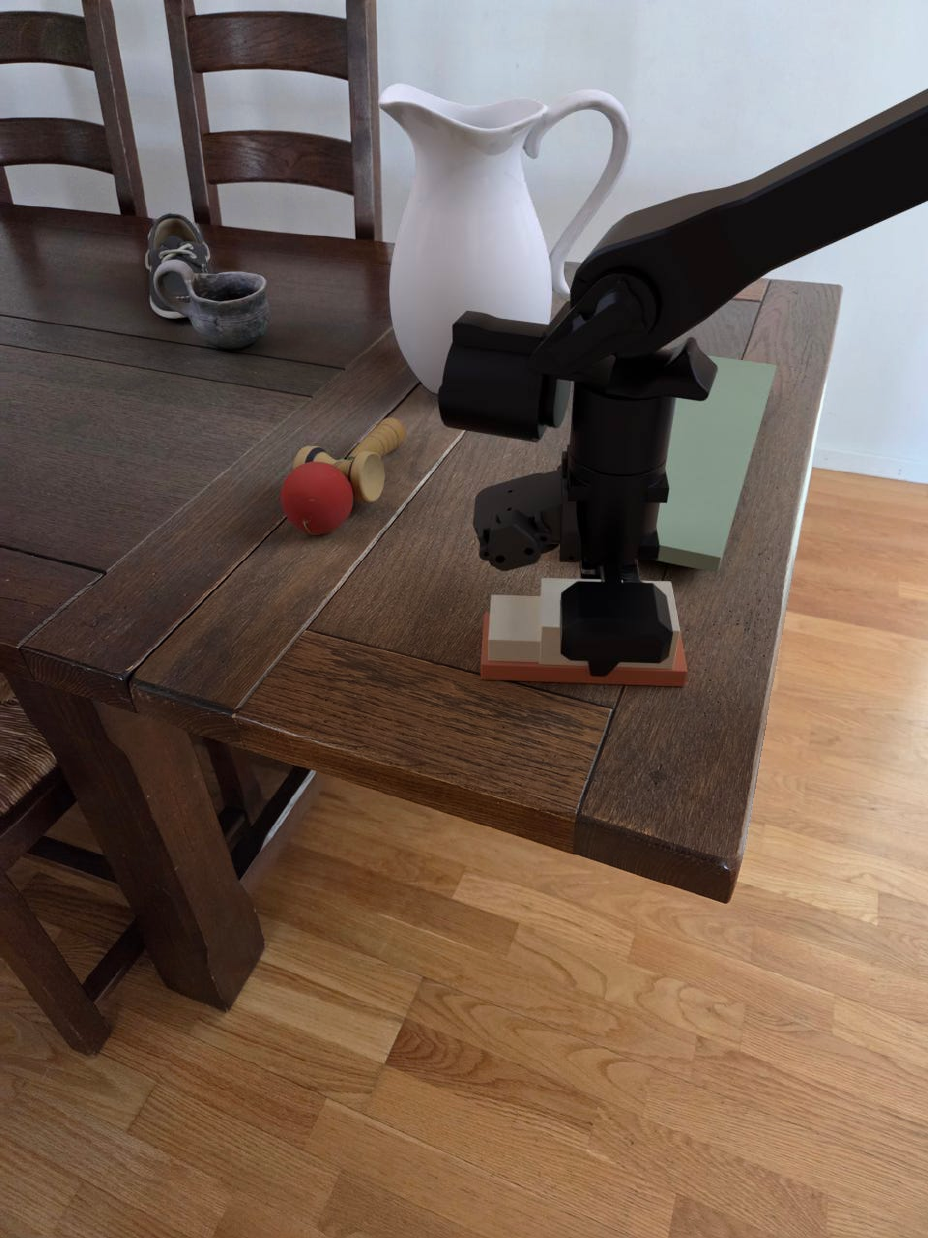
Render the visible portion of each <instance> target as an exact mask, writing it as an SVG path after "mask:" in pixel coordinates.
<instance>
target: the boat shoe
mask: <svg viewBox="0 0 928 1238" xmlns="http://www.w3.org/2000/svg"><path fill="white" fill-rule="evenodd" d="M147 240H148V241H147V242H148V244H147V246H148V247H147V251H146V253H145V257H144V262H145V263H144V265H145V268H146V269H147V270H149V271H148V283H149V303H150V306H151V309H152V310H153V311H154V312H155V313H156V314H157V315H159V316H160V317H163V318H167V319H182V318H187V317H186V316H183V315H182V314H180V313H178V312H176V311H174V310H173V309H171V308H170V307H168V306H167V305H166V304H165V303H164V302H163V301H162V300H161V299H160V297H159V296H158V294H157V292H156V290H155V287H154V275H155V272H156V270H157V268H158V267H159V266H160V265H161V264H162V263H163V262H165V261H168V260H180V261H183V262H185V263H186V264H187V265H188V266H189V267H190V268H191V269H192V271H193V272H194V273H196V274H212V271H211V268H210V263H209V260H210V258H211V253H210V249H209V247H208V245H207V244H206V243H205V242H204V241H203V238H202V237H201V234H200V230H199V228H198V227H197V225H196V224H195V223H194V222H193V221H190V219H189V218H187V217H186V216H184V215H182V214H180V213H172V212H169V213H165V214H163V215H161V216H160V217H159V218H157V219H156V220H155V221H154V223H153V226H152V227H151V228H150V230H149V233H148V235H147ZM163 282H164V285H165V287H166V288H167V290H168V291H169V292H170V293H171V294H172V296H174V297H175V298H176V299H177V300H179V301H181V302H183V303H190V302H191V300H190V297H189V293H188V290H187V287H186V285H185V282H184V280H183V278H182V277H181V275H179V274H177V273H173V272H170V273H167V274H165V275H164V277H163Z"/></svg>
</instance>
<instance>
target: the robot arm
mask: <svg viewBox="0 0 928 1238" xmlns="http://www.w3.org/2000/svg"><path fill="white" fill-rule="evenodd" d="M926 202H928V88H926V89H924V90H922V91H920V92H918V93H915V94H914V95H912V96H910V97H908V98H906V99H904V100H902V101H901V102H899V103H897V104H894V105H893V106H891V107H888V108H887V109H885V110H883V111H881V112H879V113H876V114H874V115H873V116H871V117H869V118H867V119H865V120H864V121H862V122H859V123H858V124H856V125H854V126H852V127H850V128H848V129H845V130H844V131H842V132H840V133H838V134H836V135H834V136H833V137H831V138H828V139H826V140H825V141H823V142H821V143H819V144H817V145H815V146H813V147H811V148H809V149H807V150H805V151H804V152H801V153H799V154H797V155H796V156H793V157H791V158H790V159H787V160H786V161H784V162H781V163H780V164H778V165H776V166H774V167H772V168H771V169H768V170H767V171H764V172H763V173H761V174H759V175H757V176H755V177H753V178H750V179H747V180H743V181H741V182H738V183H737V182H736V183H734V184H731V185H728V186H725V187H719V188H718V187H717V188H713V189H708V190H702V191H697V192H692V193H688V194H685V195H684V194H683V195H682V196H678V197H676V198H675V197H674V198H672V199H669V200H666V201H663V202H660V203H657V204H653V205H650V206H647V207H644V208H641V209H638V210H635V211H632V212H630V213H628V214H626V215H624V216H622V218H621V219H619V220H618V221H616V222H615V223H614V224H612V225H611V227H610V228H609V229H608V230H607V231H606V233H605V234H604V235H603V236H602V238H601V239H600V240H599V241H598V242H597V244H595V246H594V247H593V248H592V250H591V251H590V253H588V255H587V256H586V258H585V259H584V260H583V261H582V262H581V264H580V265H579V266H578V267H577V268H576V271H575V273H574V277H573V279H572V283H571V286H570V288H569V289H570V295H569V300H567V301H565V302H564V303H563V305H562V306H561V308H560V309H559V310H558V311H557V313H556V314H555V315H554V316H553V318H552V319H551V320H550V322H549V324H540V323H532V322H525V321H517V320H509V319H502V318H497V317H494V316H492V315H489V314H487V313H482V312H475V311H466V312H465V313H464V314H463V315H462V316H461V317H460V318H459V319H458V320H457V321H456V322H455V323H454V324H453V325H452V341H453V342H452V344H451V347H450V349H449V352H448V355H447V359H446V362H445V366H444V372H443V378H442V385H441V386H440V387H439V389H438V394H437V403H438V404H437V405H438V412H439V416H440V420H441V422H442V424H443V425H444V426H445V427H446V428H449V429H454V430H460V431H464V432H465V431H466V432H472V433H477V434H478V433H479V434H482V435H483V434H484V435H490V436H495V437H501V438H506V439H514V440H518V441H525V442H530V443H539V442H540V441H541V440H542V438H543V436H545V433H546V431H547V428H552V429H559V428H560V427H561V425H562V423H563V421H564V420H565V416H566V413H567V410H568V407H569V401H570V397H571V388H572V383H573V392H572V404H571V405H572V406H571V421H570V434H569V444H566V450H562V451H561V460H560V464H559V465H558V466H556V470H551V471H546V472H535V473H529V474H527V475H524V476H520V477H516V478H513V479H510V480H506V481H503V482H499V483H496V484H492V485H490V486H486V487H485V488H483V489H481V490H480V491H479V492H478V493H477V494H476V495H475V499H474V508H473V517H472V527H473V529H474V531H475V533H476V536H477V537H476V538H477V540H478V542H479V548H478V549H479V550H478V551H479V552H478V556H479V558H480V559H481V560H482V561H485V562H488V563H489V565H490V566H491V567H492V568H495V569H496V570H498V571H500V572H509V571H513V570H516V569H517V570H518V569H521V568H523V567H528V566H533V565H535V564H536V563H538V562H539V560H540V559H541V555H543V554H548V553H550V552H552V551H554V550H555V549H557V548H558V547H559V551H558V558H559V559H558V560H559V562H560V563H578V567H579V575H580V579H599V580H601V582H596V581H577V582H575V583H574V584H573V585H571V586H570V587H568V588H567V589H566V590H564V591H563V592H561V600H560V654H562V655H563V656H564V657H566V658H567V659H569V660H570V661H588V666H589V671H590V675H591V676H593V677H606V676H607V675H608V674H609V673H610V672H611V671H612V670H613V669H614V668H615V667H616V666H617V665H618V664H619V663H620V662H627V663H657V664H660V663H661V662H663V661H664V660H666V659H667V658H668V657H669V653H670V648H671V643H672V637H673V629H672V623H671V618H670V612H669V606H668V601H667V596H666V595H665V594H664V593H663V592H662V591H661V590H660V589H659V588H658V587H657V586H656V585H654V584H653V583H645V582H642V581H643V580H641V578H640V577H641V576H640V569H639V563H638V562H639V561H638V560H650V561H651V560H654V561H658V556H659V550H660V543H659V538H658V532H657V527H656V526H657V519H658V513H659V506H660V503H667V501H668V495H669V489H670V488H669V483H668V479H667V474H666V469H665V468H666V462H667V454H668V448H669V441H670V435H671V429H672V422H673V416H674V409H675V403H676V398H681V399H688V400H694V401H704V400H706V399H707V398H708V396H709V394H710V391H711V388H712V385H713V383H714V380H715V377H716V375H717V372H718V367H717V365H716V364H715V363H714V362H713V361H712V360H711V359H710V358H709V357H708V356H709V355H708V354H706V353H705V352H703V351H702V349H701V348H700V346H699V345H698V342H697V339H696V338H695V337H694V336H689V337H687V338H686V339H685V340H684V341H683V342H682V343H680V344H678V345H677V346H674V347H671V348H664V347H666V346H667V345H669V344H670V343H672V342H674V341H675V340H677V339H678V338H680V337H681V336H683V335H684V334H686V333H687V332H689V331H691V330H692V329H694V328H696V326H698V325H700V324H701V323H704V321H706V320H707V319H709V318H710V317H711V316H712V315H714V314H715V313H716V312H717V311H719V310H720V309H722V308H723V307H724V306H725V305H726V304H727V303H728V302H730V301H731V300H732V299H734V297H736V296H737V295H739V294H740V293H742V291H743V290H745V289H746V288H748V287H749V286H750V285H752V284H754V283H755V282H757V281H758V280H760V279H761V278H763V277H765V276H766V275H767V274H768V273H771V272H772V271H773V270H777V269H778V268H781V267H783V266H785V265H787V264H790V263H792V262H794V261H796V260H798V259H801V258H803V257H806V256H807V255H810V254H812V253H815V252H818V251H819V250H822V249H824V248H826V247H829V246H830V245H832V244H835V243H837V242H839V241H841V240H844V239H846V238H849V237H850V236H852V235H855V234H857V233H860V232H861V231H864V230H866V229H868V228H871V227H873V226H875V225H877V224H880V223H881V222H884V221H886V220H889V219H891V218H893V217H896V216H898V215H900V214H902V213H904V212H907V211H908V210H911V209H914V208H915V207H918V206H920V205H922V204H924V203H925V204H926ZM707 355H708V356H707ZM622 580H623V582H622Z"/></svg>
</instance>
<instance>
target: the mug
mask: <svg viewBox="0 0 928 1238" xmlns="http://www.w3.org/2000/svg"><path fill="white" fill-rule="evenodd" d="M170 272H173V273H177V274H179V275H181V277H182V278H183V280H184V282H185V285H186V287H187V290H188V293H189V297H190V300H191V302H190V303H183V302H181V301H179V300H177V299H176V298H175V297H174V296H172V294H171V293H170V292H169V291H168V290H167V288H166V287H165V285H164V282H163V277H164V275H165V274H167V273H170ZM267 285H268V283H267V279H266V278H264V277H263V276H262V275H260V274H257V273H252V272H246V271H245V272H244V271H224V272H219V273H216V274H215V273H211V274H196V273H194V272H193V271H192V269H191V268H190V267H189V266H188V265H187V264H186V263H185V262H183V261H180V260H168V261H165V262H163V263H162V264H161V265H160V266H159V267H158V268H157V270H156V272H155V275H154V287H155V290H156V292H157V294H158V296H159V297H160V299H161V300H162V301H163V302H164V303H165V304H166V305H167V306H168V307H170V308H171V309H173V310H174V311H176V312H178V313H180V314H182V315H183V316H186V317H185V318H188V319H189V321H190V323H191V324H192V327H193V329H194V331H195V332H196V333H197V335H198V336H199V337H200V338H201V339H202V340H203V341H205V342H206V343H208V344H210V345H212V346H215V347H219V348H222V349H227V350H236V349H242V348H244V347H247V346H249V345H250V344H253V343H255V342H257V341H258V340H260V339H261V338H262V337H263V336H264V335H265V333H266V332H267V330H268V328H269V323H270V319H271V309H270V304H269V301H268V300H267V297H266V290H267Z"/></svg>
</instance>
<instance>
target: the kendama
mask: <svg viewBox="0 0 928 1238" xmlns="http://www.w3.org/2000/svg"><path fill="white" fill-rule="evenodd" d="M406 431H407V430H406V428H405V426H404V424H403V423H402V422H401V421H400V420H399V419H398V418H395V417H386V418H384V419H382V420H381V421H380V422H378V424H377V425H376V426H375V427H374V428H373V429H372V431H371V432H369V433H368V434H367V435H366V436H365V437H364V438H363V439H361V441H360V442H358V444H357V445H356V446H355V447H354V448H353V449H352V451H351V452H350V453H349V454H348V456H347V457H346V459H334V458H333V457H331V456H330V455H329V453H328V452H327V450H326V449H325V448H323V447H322V446H318V445H306V446H303V447H301V448H300V449H299V450H298V452H297V454H296V455H295V458H294V461H293V465H292V470H291V471H290V472H289V473H288V475H286V477H285V479H284V481H283V483H282V486H281V489H280V503H281V509H282V510H283V513H284V515H285V516H286V518H287V519H288V521H289V522H290V523H291V524H292V525H293V526H294V527H296V528H297V529H299V530H301V531H303V532H305V533H308V534H311V535H313V536H318V535H322V534H327V533H330V532H332V531H335V530H337V529H338V528H339V527H341V526H342V525H343V524H344V523H345V522H346V521H347V520H348V518H349V516H350V515H351V512H352V509H353V505H354V499H355V500H356V501H357V502H358V503H359V502H360V503H361V504H362V503H363V504H370V503H371V504H373V503H375V502H376V501H378V499H379V498H380V497H381V494H382V492H383V490H384V485H385V475H386V474H385V468H384V467H385V466H384V463H383V460H382V458H384V457H386V456H387V455H388V454H389V453H391V452H393V451H394V450H396V449H398V448H400V447H401V446H402V445H403V444H404V443H405V441H406V438H407V432H406Z"/></svg>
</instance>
